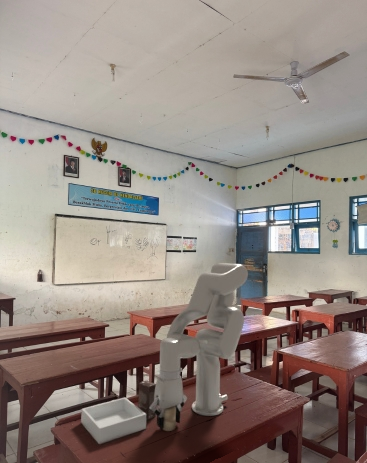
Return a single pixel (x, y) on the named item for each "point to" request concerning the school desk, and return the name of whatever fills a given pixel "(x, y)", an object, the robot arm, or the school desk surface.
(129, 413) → the tote
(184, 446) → the school desk surface
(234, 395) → the school desk surface
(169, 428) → the beige piece
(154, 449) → the school desk surface
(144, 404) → the box
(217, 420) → the school desk surface
